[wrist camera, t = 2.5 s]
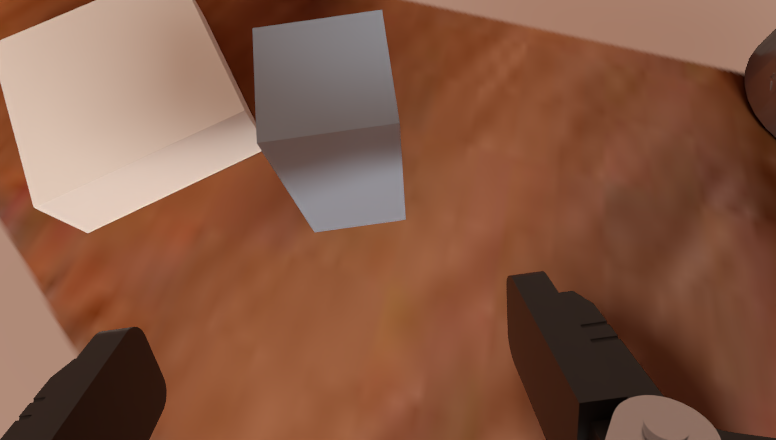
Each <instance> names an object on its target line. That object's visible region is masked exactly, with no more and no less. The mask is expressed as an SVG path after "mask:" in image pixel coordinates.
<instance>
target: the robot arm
mask: <svg viewBox="0 0 776 440" xmlns="http://www.w3.org/2000/svg"><path fill="white" fill-rule="evenodd" d="M745 89H746V94H747V98H748V101H749V103H750V105H751V107H752V109H753V111H754V113H755V115H756V116H757V118H758V119H759V120H760V121H761V123H762V124H763V125H764V127H765V128H766V129H767V130H768V131H769V132H770V133H771V134H773V135H774V136H775V137H776V29H775V30H774V31H773V32H772V33H771V34H770V35H769V36H768V37H767V38H766V39H765V40H764V41H763V42H762V43H761V44H760V45H759V46H758V47H757V48H756V50H755V51H754V53H753V54H752V55H751V57H750V58H749V61H748V64H747V67H746V70H745ZM507 320H508V339H509V345H510V350H511V354H512V358H513V361H514V363H515V366H516V368H517V371H518V373H519V375H520V378H521V380H522V383H523V385H524V387H525V390H526V392H527V395H528V397H529V399H530V402H531V404H532V407H533V409H534V411H535V414H536V416H537V418H538V421H539V423H540V426H541V428H542V430H543V433H544V435H545V438H546V440H776V438H770V437H762V436H755V435H747V434H739V433H733V432H727V431H722V430H719V429H715V428H714V427H713V425H712V424H711V423H710V422H709V421H708V420H707V419H706V418H705V417H704V416H703V415H701V414H700V413H699V412H697V411H696V410H694V409H693V408H691V407H689V406H687V405H685V404H683V403H681V402H679V401H676V400H673V399H670V398H666V397H664V396H663V395H662V393H661V392H660V391H659V389H658V388H657V387H656V386H655V384H654V383H653V382H652V380H651V379H650V378H649V376H648V375H647V374H646V372H645V371H644V370H643V368H642V367H641V366H640V364H639V363H638V362H637V360H636V359H635V358H634V356H633V355H632V354H631V353H630V351H629V350H628V349H627V347H626V346H625V345H624V343H623V342H622V341H621V339H618V335H617V334H616V333H615V331H614V330H613V329H612V327H611V326H610V325H607V321H606V320H605V318H604V317H603V316H602V314H601V313H600V312H599V310H598V309H597V308H596V306H595V305H594V304H593V303H591V302H590V301H588V300H587V299H585V298H583V297H582V296H580V295H579V294H577V293H575V292H574V291H569V292H561V293H558V291H557V290H556V288H555V287H554V285H553V284H552V282H551V281H550V279H549V278H548V276H547V275H546V273H545V272H543V271H540V272H533V273H526V274H519V275H512V276H508V278H507ZM165 402H166V384H165V380H164V377H163V375H162V373H161V371H160V368H159V366H158V364H157V361H156V359H155V357H154V355H153V352H152V350H151V348H150V345H149V343H148V341H147V339H146V336H145V334H144V333H143V331H142V330H141V329H140V328H138V327H130V328H123V329H116V330H109V331H102V332H99V333H97V334H96V335H95V336H94V337H93V338H92V339H91V341H90V342H89V343H88V344H87V346H86V347H85V348H84V349H83V351H82V352H81V353H80V355H79V356H78V357H77V358H76V359H74V360H72V361H71V362H70V363H69V364H67V365H66V366H65V367H64V368H62V369H61V370H60V371H59V372H57V373H56V374H55V375H53V376H52V377H51V378H50V379H49V380H48V382H47V383H46V384H45V385H44V387H43V388H42V389H41V390H40V391H39V393H38V394H37V395H36V396H35V398H34V402H33V403H30V404H29V405H28V406H27V407H26V408H25V410H24V411H23V412H22V414H21V415H20V416H19V417H20V418H19V421H15V422H14V423H13V425H12V426H11V427H10V428H9V429H8V431H7V432H6V433H5V434H4V435H3V437H2V438H1V439H0V440H149V439H150V437H151V434H152V432H153V430H154V428H155V426H156V424H157V422H158V420H159V418H160V416H161V414H162V411H163V409H164V406H165Z"/></svg>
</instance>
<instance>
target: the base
mask: <svg viewBox="0 0 776 440" xmlns="http://www.w3.org/2000/svg"><path fill="white" fill-rule="evenodd" d="M0 82H1V86H2V90H3V94H4V97H5V101H6V105H7V109H8V112H9V116H10V120H11V124H12V127H13V131H14V135H15V139H16V142H17V146H18V150H19V154H20V158H21V161H22V165H23V169H24V173H25V176H26V180H27V184H28V188H29V191H30V195H31V199H32V203H33V206H34V208H36V209H38V210H40V211H42V212H44V213H46V214H48V215H51V216H53V217H55V218H57V219H59V220H61V221H63V222H65V223H67V224H69V225H72V226H74V227H76V228H78V229H80V230H82V231H84V232H86V233H89V232H92V231H94V230H96V229H98V228H100V227H102V226H104V225H106V224H108V223H111V222H113V221H115V220H117V219H119V218H121V217H123V216H125V215H128V214H130V213H132V212H134V211H136V210H138V209H140V208H142V207H144V206H147V205H149V204H151V203H153V202H155V201H157V200H159V199H161V198H164V197H166V196H168V195H170V194H172V193H174V192H176V191H178V190H180V189H183V188H185V187H187V186H189V185H191V184H193V183H195V182H197V181H200V180H202V179H204V178H206V177H208V176H210V175H212V174H214V173H216V172H219V171H221V170H223V169H225V168H227V167H229V166H231V165H233V164H236V163H238V162H240V161H242V160H244V159H246V158H248V157H250V156H252V155H255V154H257V153H259V152H261V149H260V147H259V146H258V144H257V138H256V122H255V120H254V118H253V116H252V114H251V112H250V110H249V108H248V106H247V104H246V102H245V99H244V97H243V95H242V93H241V91H240V89H239V87H238V85H237V83H236V81H235V79H234V77H233V75H232V72H231V70H230V68H229V66H228V64H227V62H226V60H225V58H224V56H223V54H222V52H221V50H220V48H219V45H218V43H217V41H216V39H215V37H214V35H213V33H212V31H211V29H210V27H209V25H208V23H207V21H206V18H205V17H204V15H203V13H202V11H201V10H200V8H199V6H198V4H197V2H196V1H195V0H95V1H93V2H91V3H88V4H86V5H84V6H81V7H79V8H76V9H74V10H72V11H69V12H67V13H64V14H62V15H60V16H57V17H55V18H52V19H50V20H48V21H45V22H43V23H41V24H38V25H36V26H33V27H31V28H29V29H26V30H24V31H21V32H19V33H17V34H14V35H12V36H9V37H7V38H5V39H2V40H0Z"/></svg>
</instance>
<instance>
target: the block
mask: <svg viewBox="0 0 776 440" xmlns="http://www.w3.org/2000/svg"><path fill="white" fill-rule="evenodd" d="M252 30H253V57H254V84H255V111H256V138H257V144H258V146H259V147H260V149H261V151H262V152H263V154H264V155H265V157H266V158H267V160H268V161H269V163H270V164H271V166H272V167H273V169H274V171H275V172H276V174H277V175H278V177H279V178H280V180H281V181H282V183H283V184H284V186H285V187H286V189H287V191H288V192H289V194H290V195H291V197H292V198H293V200H294V201H295V203H296V204H297V206H298V207H299V209H300V211H301V212H302V214H303V215H304V217H305V218H306V220H307V221H308V223H309V224H310V226H311V228H312V229H313V231H314V232H320V231H327V230H334V229H342V228H349V227H356V226H363V225H371V224H378V223H385V222H392V221H399V220H406V218H405V202H404V186H403V170H402V155H401V139H400V123H399V117H398V110H397V104H396V97H395V91H394V84H393V78H392V71H391V65H390V58H389V52H388V46H387V39H386V33H385V26H384V20H383V13H382V10H376V11H369V12H362V13H355V14H348V15H342V16H335V17H328V18H321V19H314V20H307V21H300V22H293V23H286V24H279V25H272V26H265V27H258V28H252Z"/></svg>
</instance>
